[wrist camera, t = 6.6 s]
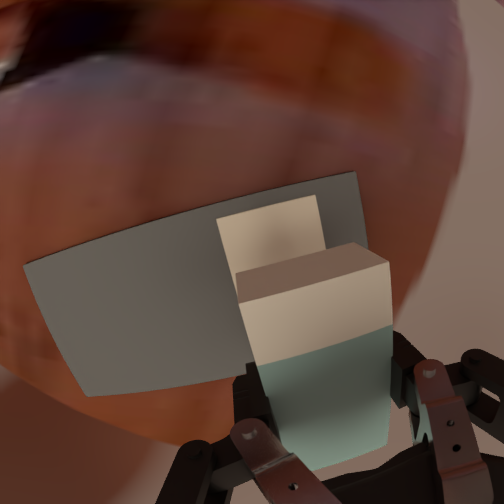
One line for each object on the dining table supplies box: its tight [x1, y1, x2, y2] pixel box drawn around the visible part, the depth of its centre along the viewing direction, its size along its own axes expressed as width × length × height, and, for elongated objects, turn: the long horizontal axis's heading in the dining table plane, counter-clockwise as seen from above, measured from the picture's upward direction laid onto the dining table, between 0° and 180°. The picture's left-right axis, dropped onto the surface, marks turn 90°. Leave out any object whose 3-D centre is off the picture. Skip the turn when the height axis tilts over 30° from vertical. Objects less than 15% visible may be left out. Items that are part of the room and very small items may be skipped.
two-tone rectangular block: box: [235, 242, 393, 471], centre depth 12 cm, size 5×10×3 cm, turn 14°
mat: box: [23, 171, 368, 397], centre depth 22 cm, size 14×28×1 cm, turn 104°
